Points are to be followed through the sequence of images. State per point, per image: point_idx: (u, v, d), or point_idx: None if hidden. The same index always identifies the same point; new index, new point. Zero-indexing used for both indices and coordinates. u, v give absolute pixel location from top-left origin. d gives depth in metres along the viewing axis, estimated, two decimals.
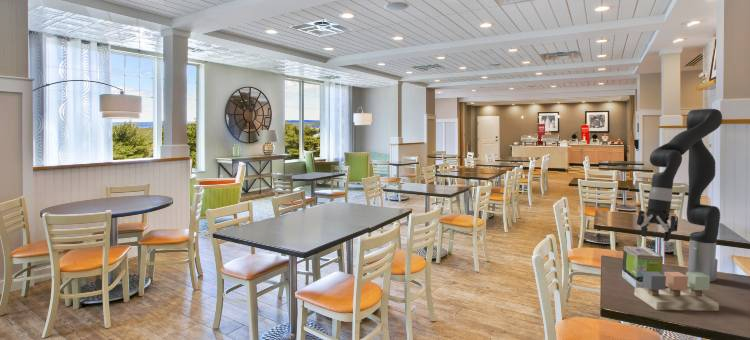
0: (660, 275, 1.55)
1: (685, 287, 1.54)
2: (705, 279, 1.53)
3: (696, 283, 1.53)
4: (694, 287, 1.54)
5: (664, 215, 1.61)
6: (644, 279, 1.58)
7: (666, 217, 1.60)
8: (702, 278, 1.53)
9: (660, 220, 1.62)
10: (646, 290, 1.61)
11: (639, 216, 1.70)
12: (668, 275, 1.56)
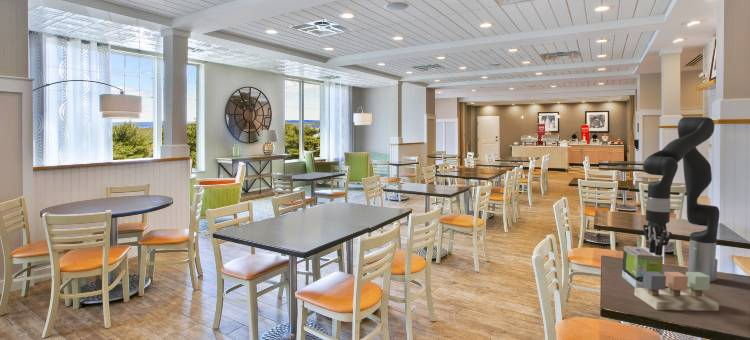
0: (660, 275, 1.55)
1: (685, 287, 1.54)
2: (705, 279, 1.53)
3: (696, 283, 1.53)
4: (694, 287, 1.54)
5: (659, 227, 1.52)
6: (644, 279, 1.58)
7: (660, 230, 1.51)
8: (702, 278, 1.53)
9: (654, 232, 1.54)
10: (646, 290, 1.61)
11: (645, 231, 1.60)
12: (668, 275, 1.56)
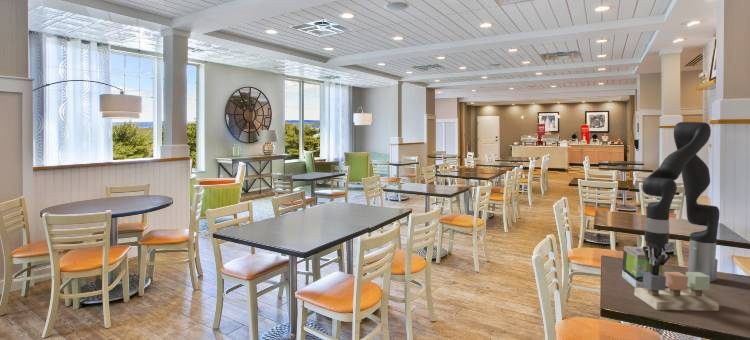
0: (660, 275, 1.55)
1: (685, 287, 1.54)
2: (705, 279, 1.53)
3: (696, 283, 1.53)
4: (694, 287, 1.54)
5: (658, 248, 1.52)
6: (644, 280, 1.59)
7: (659, 251, 1.52)
8: (702, 278, 1.53)
9: (653, 253, 1.55)
10: (646, 290, 1.61)
11: (645, 252, 1.60)
12: (668, 275, 1.56)
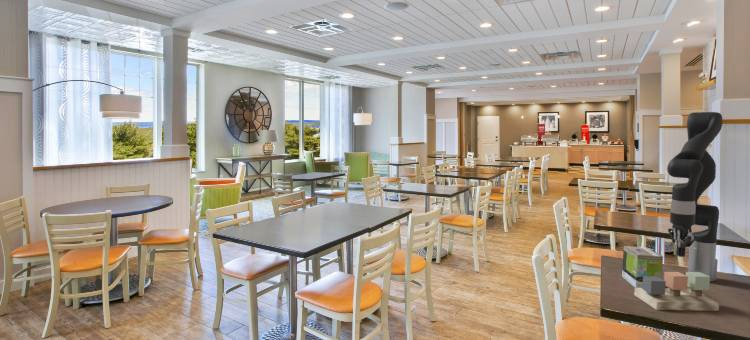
0: (660, 280, 1.55)
1: (685, 287, 1.54)
2: (705, 279, 1.53)
3: (696, 283, 1.53)
4: (694, 287, 1.54)
5: (684, 230, 1.52)
6: (644, 284, 1.59)
7: (685, 233, 1.52)
8: (702, 278, 1.53)
9: (678, 235, 1.54)
10: None
11: (670, 234, 1.60)
12: (668, 275, 1.56)
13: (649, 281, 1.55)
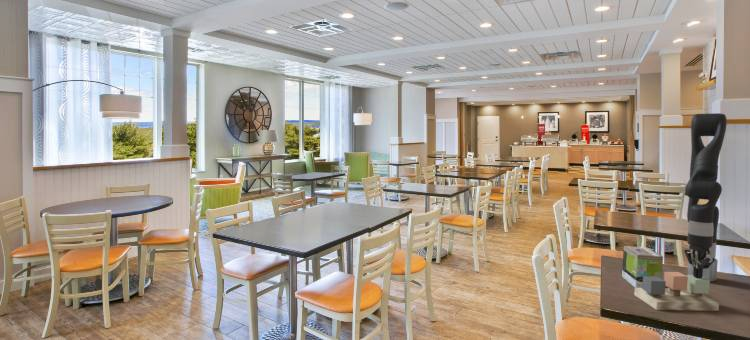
0: (660, 280, 1.55)
1: (685, 287, 1.54)
2: (705, 282, 1.53)
3: (696, 286, 1.53)
4: (694, 290, 1.54)
5: (702, 251, 1.51)
6: (644, 284, 1.59)
7: (703, 254, 1.51)
8: (702, 281, 1.53)
9: (696, 256, 1.54)
10: None
11: (687, 255, 1.60)
12: (668, 275, 1.56)
13: (649, 281, 1.55)
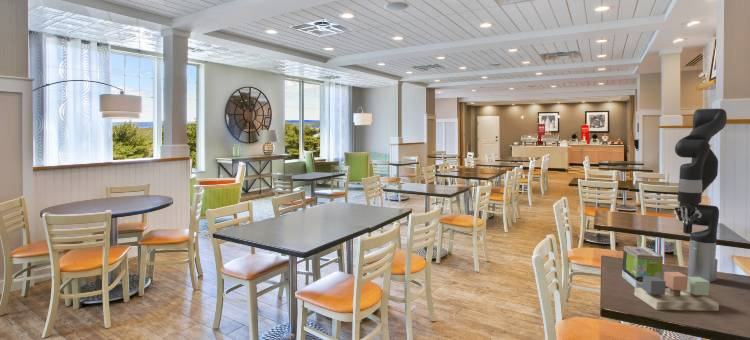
0: (660, 280, 1.55)
1: (685, 287, 1.54)
2: (705, 284, 1.53)
3: (696, 288, 1.54)
4: (694, 292, 1.54)
5: (692, 208, 1.58)
6: (644, 284, 1.59)
7: (692, 210, 1.58)
8: (702, 283, 1.53)
9: (686, 213, 1.60)
10: None
11: (677, 213, 1.66)
12: (668, 275, 1.56)
13: (649, 281, 1.55)
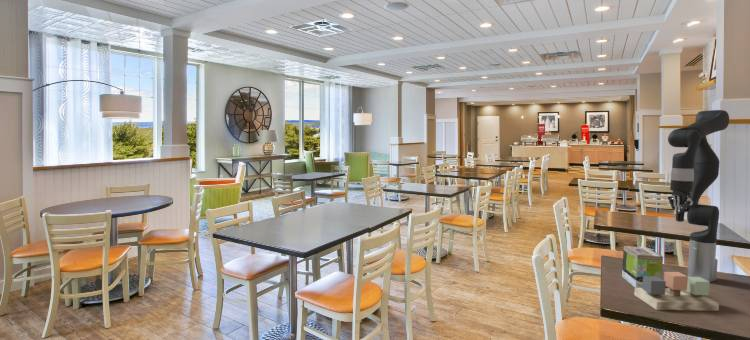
0: (660, 280, 1.55)
1: (685, 287, 1.54)
2: (705, 284, 1.53)
3: (696, 288, 1.54)
4: (694, 292, 1.54)
5: (684, 195, 1.63)
6: (644, 284, 1.59)
7: (684, 198, 1.63)
8: (702, 283, 1.53)
9: (678, 201, 1.65)
10: None
11: (670, 201, 1.71)
12: (668, 275, 1.56)
13: (649, 281, 1.55)
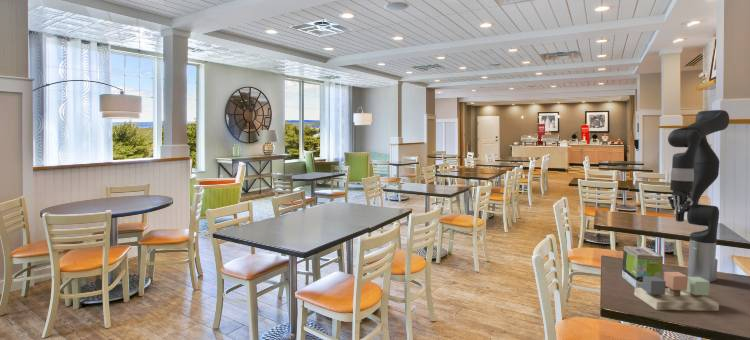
0: (660, 280, 1.55)
1: (685, 287, 1.54)
2: (705, 284, 1.53)
3: (696, 288, 1.54)
4: (694, 292, 1.54)
5: (684, 195, 1.63)
6: (644, 284, 1.59)
7: (684, 198, 1.63)
8: (702, 283, 1.53)
9: (678, 201, 1.65)
10: None
11: (670, 201, 1.71)
12: (668, 275, 1.56)
13: (649, 281, 1.55)
